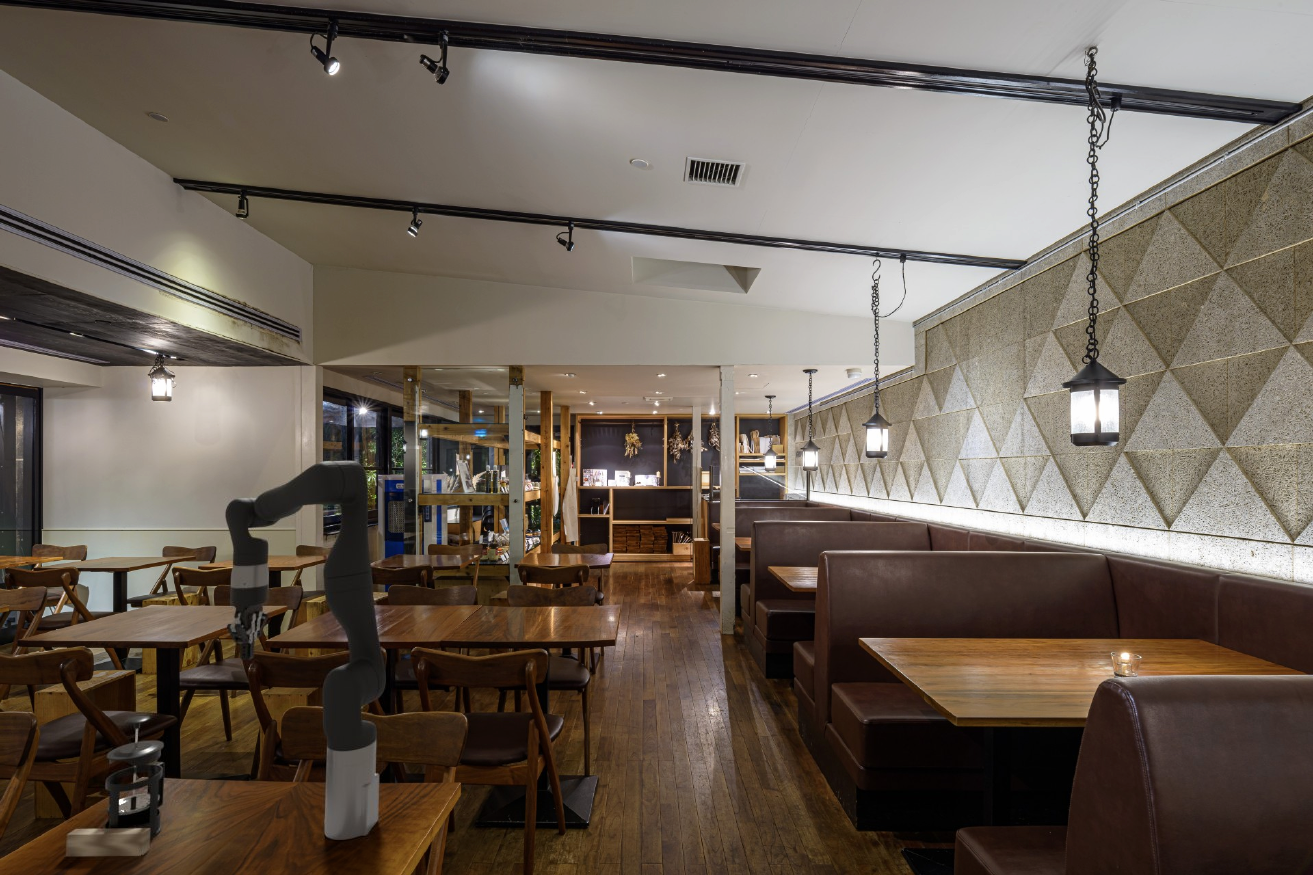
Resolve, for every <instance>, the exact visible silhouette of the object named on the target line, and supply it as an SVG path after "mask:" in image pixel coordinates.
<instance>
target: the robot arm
mask: <svg viewBox="0 0 1313 875" xmlns="http://www.w3.org/2000/svg"><path fill="white" fill-rule="evenodd" d="M367 477H368V476H367V473H366V470H365V468H364V466H363V465H362V464H361V463H360V462H358V461H355V460H339V461H338V460H334V461H333V460H328V461H327V460H325V461H320V462H317V463H315V464H312V465H311V466H309V467H308V468H306V469H305V470H304V471H303V472H301V473H299V474H298V475H297V476H295V477H294V478H292V479H290V481H288V482H286V483H284V484H282V485H280V486H276V487H274V488H272V489H269V490H267V491H264V492H262V493H261V494H259V495H258V496H257V497H245V498H244V497H241V498H239V497H238V498H235V499H232V500H231V501H230V502H228V504H227V506H226V509H225V522H226V524H227V527H228V531H229V535H230V538H231V542H232V548H233V551H232V568H231V573H230V574H231V575H230V595H229V596H230V597H229V598H230V600H229V603H230V606H231V607H234V608H235V612H234V614H233V617H234V620H233V621H232V623H228V624H227V625H226V629H227V632H229V634H230V637H231V638H232V640H233V642H234V643H235V644H240V660H242V661H250V660H251V659H253V658H254V657H255V642H257V638H260V637H261V636H262V634H263V631H264V628H265V626H266V623H267V621H268V619H269V614H270V613H268V612H264V611H263V610H264V606H263V605H265V604H266V603H268V601H269V577H270V576H269V574H270V572H269V571H270V570H269V542H268V540H267V539H265V538H262V537H254V536H252V535H251V533H250V530H249V529H256V528H266V527H271V526H274V525H276V523H278V522H279V521H280V520H281V519H282V520H283V519H285V518H288V517H290V516H293V515H294V514H296V513H298V512H299V511H300V510H301V509H303V507H304V506H312V505H323V506H333V505H340V509H341V510H340V511H341V522H340V528H339V532H338V534H337V536H336V539H335V541H334V543H333V545H332V546H331V549H330V551H329V553H328V555H327V558H326V560H325V562H324V566H323V571H322V572H323V574H322V575H323V586H324V587H323V588H324V597H325V602H326V604H327V607H328V609H329V610H330V612H331V614H332V615H333V617H334V618H335V620H336V621H337V622H338V624H339V625H340V627H342V629H343V631H344V633H345V636H346V638H347V642H348V650H349V662H347V663H346V664H343V665H341V666H338V667H336V668H333V669H332V670H331V671H329V673H327V675H326V677H325V680H324V681H323V686H322V724H323V732H324V734H325V738H326V767H325V768H326V769H325V770H326V774H325V801H324V802H325V803H324V804H325V805H324V808H325V809H324V835H325V836H326V837H327V838H328V839H331V840H337V841H340V840H341V841H344V840H350V839H354V838H357V837H361V836H362V837H363V836H368V834H369V833H370V832H371V831H372V828H374V826H375V825H376V824H377V822H378V820H379V796H380V795H379V794H380V774H379V773H376V768H377V766H376V764H377V732H378V731H377V726H376V724H375V723H374V722H373V721H369V720H363V718H362V717H363V715H362V707H364V706H366V705H369V704H370V703H372V702H374V701H376V700H377V699H379V698H380V697H381V696H382V694H383V693H384V691H385V688H386V680H387V678H386V677H387V675H386V669H385V668H386V667H385V663H384V658H383V657H384V656H383V652H382V647H381V642H380V638H379V633H378V632H379V631H378V625H377V617H376V608H375V607H376V606H375V600H374V599H375V597H374V583H373V571H372V564H371V563H372V562H371V558H370V557H371V556H370V544H369V527H368V522H369V521H368V520H369V519H368V516H369V515H368V514H369V509H368V508H369V507H368V506H369V486H368V485H369V484H368V478H367Z"/></svg>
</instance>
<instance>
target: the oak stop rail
mask: <svg viewBox="0 0 1313 875" xmlns="http://www.w3.org/2000/svg"><path fill="white" fill-rule="evenodd" d="M150 844H151V839H150V828H135V827H130V828H123V829H104V828H75V829H74V830H72V831H70V832H69V833H67V834H66V845H65V846H66V847H65V850H66V851H65V857H120V856H121V857H132V856H133V857H137V856H138V857H141V855H142V856H143V855H145V854H146V853H147V852H149V851H150V847H151V845H150Z"/></svg>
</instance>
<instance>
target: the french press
mask: <svg viewBox="0 0 1313 875" xmlns="http://www.w3.org/2000/svg"><path fill="white" fill-rule="evenodd" d="M149 720H151V717H150V716H149V715H139V716H135V717H130V718H128V719H126V720H125V721H124V722H123V724H124V725H132V726H133V729H134V730H135V739H134V740H135V742H131V743H130V742H129V743H127V744H123V745H121V746H118V747H116V748H114V749H112V750H110V751H109V752H108V753H107V755H106V759H108V760H109V765H108V766H111V765H112V764H113V763H115V762H120V761H121V762H124V763H127V764H129V765H130V767H128V768H125V769H121V770H118V771H117V772H114V773H112V774H110V775H109V776H108V777H107V778H106V779H105V790H106V791H109V798H108V799H109V800H108V806H107V807H106V809H105V811H106V813H107V814H108V817H107V818H108V820H107V821H105V823H104V824H103V829H123V828H150V840H151V839H154V838H155V837H156V836H157V835H158V834H159V833H160V832H161V831H162V824H161V818H162V817H161V815H162V811H161V809H160V807H162V806H163V804H164V790H165V789H164V788H165V787H164V786H165V785H164V784H165V783H164V782H165V762H163V761H157V760H158V759H160V757H161V754H162V753H161V750H162V749H163V748H164V745H165V744H164V742H163V741H160V740H141V741H138V738H139V737H138V736H139V735H138V734H139V729H140V728H141V724H144V723H146V722H147V721H149ZM151 763H152V764H151ZM143 772H148V773H147V775H148V776H147V778H145V779H143V780H139V781H136V780H137V773H143ZM132 774H133V780H132V781H133V782H131V783H125V784H124V783H123V784H121V783H120V784H119V779H120V778H123V777H125V776H128V775H132ZM145 787H147V792H142V793H141V792H140V793H137V794H136V790H139V789H141V788H145ZM129 791H132V795H129V796H124V797H122V798H120V796H121V795H120V793H123V792H129Z"/></svg>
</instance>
